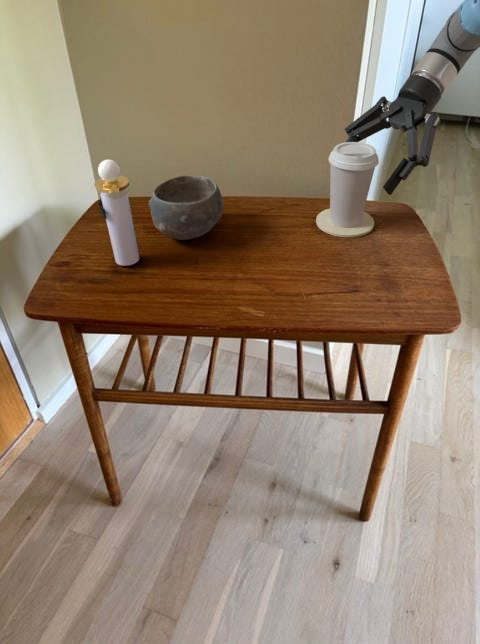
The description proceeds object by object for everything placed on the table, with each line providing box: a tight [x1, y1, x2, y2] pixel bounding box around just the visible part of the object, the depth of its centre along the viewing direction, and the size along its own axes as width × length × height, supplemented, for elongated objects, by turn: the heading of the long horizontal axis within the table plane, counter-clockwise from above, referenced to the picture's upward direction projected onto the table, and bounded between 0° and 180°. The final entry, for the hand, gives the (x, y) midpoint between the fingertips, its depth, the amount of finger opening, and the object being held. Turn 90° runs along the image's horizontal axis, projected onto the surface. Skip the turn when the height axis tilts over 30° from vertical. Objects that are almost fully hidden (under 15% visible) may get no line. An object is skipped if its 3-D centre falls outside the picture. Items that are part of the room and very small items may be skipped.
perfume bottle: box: [93, 158, 140, 267], centre depth 86 cm, size 6×6×20 cm
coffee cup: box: [327, 141, 380, 228], centre depth 97 cm, size 10×10×15 cm
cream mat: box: [315, 207, 375, 239], centre depth 102 cm, size 12×12×1 cm
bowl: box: [148, 174, 225, 241], centre depth 97 cm, size 14×15×10 cm
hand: (360, 179), depth 97 cm, fingers open, 13 cm apart
